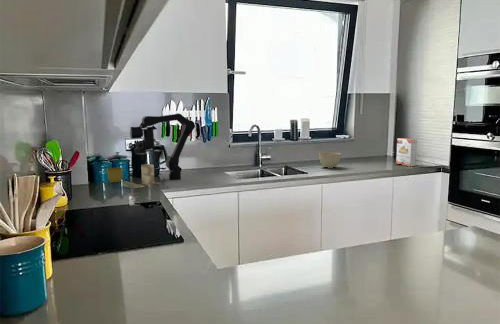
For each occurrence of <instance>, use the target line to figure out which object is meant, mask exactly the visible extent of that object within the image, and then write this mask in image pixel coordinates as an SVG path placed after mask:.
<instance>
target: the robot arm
mask: <svg viewBox="0 0 500 324" xmlns="http://www.w3.org/2000/svg"><path fill="white" fill-rule="evenodd" d="M173 121H177V122H178V123H179V124H180V125H181V133H180V136H179V138H178V140H177V142H176V145H175V147H174V150H173V151H172V153H171V155H168V156H167V158H166V160H165V166H166V169H168V170H169V173H168V180H169V181H178V180H180V181H181V180H182V175H181V174H182V170H183V169H182V168H181V167H180V166H179V163H180V156H181V154H182V151H183V149H184V147H185V145H186V142H187V141H188V137H189V135H191V134H192V132H193V131H194V130H195V128H196V124H195V122H194V121H193V120H189V119H188V118H187V117H185V116H184V115H182V114H181V113H180V112H179V113H174V114H173V113H172V114H166V115H159V116H157V115H156V116H153V115H148V116H147V115H144V116H143V117H142V119H141V123H140V124H139V126H130V129H129V130H130V131H129V137H130V140H133V139H134V140H135V139H141V138H142V137H143V138H142V141H141V142H140V141H136V142H135V148H134V150H133V153H134V154H136V155H137V156H139V157H140V159H141V162H142V163H143V164H142V165H145V164H147V152H151V151H153V153H154V156H155V157H154V158H155V163H157V164H158V163H159V160H160V158H161V155H162V153H163V152H164V151H165V149H166V148H165V146H164V145H160V144H159V145H155V141H156V140H157V139H156V138H155V136H154V135H155V134H154V133H155V132H154V131H155V130H158V128H157V127H156V126H155V125H157V124H161V123H165V122H173Z"/></svg>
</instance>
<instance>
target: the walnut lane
mask: <svg viewBox="0 0 500 324" xmlns="http://www.w3.org/2000/svg"><path fill="white" fill-rule="evenodd" d="M122 183H123V187H125V188H126V187H127V188H130V189H137V188H138V189H139V188H143V187H145V186H146V185H145V184H142V183H139V184H137V183H135V182H131V181H127V180H125V181H123V182H122ZM159 184H162V182H158V181H155V180H154V184H149V185H148V186H150V185H151V186H156V185H159Z"/></svg>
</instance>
